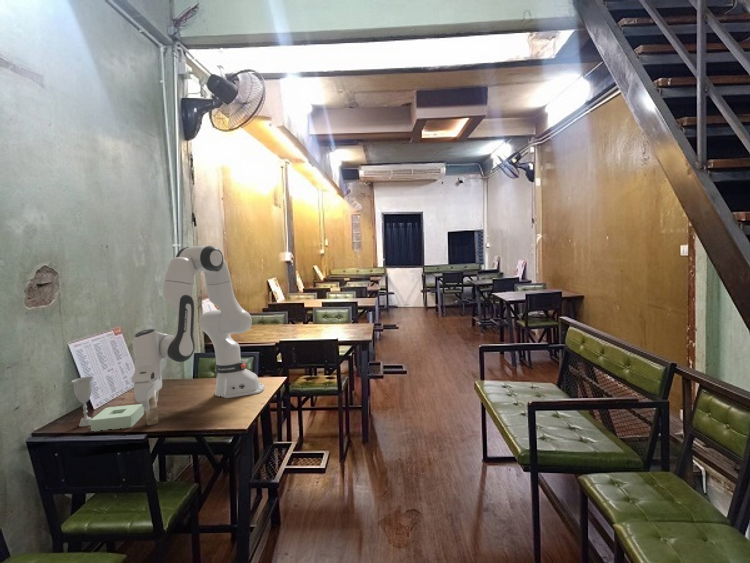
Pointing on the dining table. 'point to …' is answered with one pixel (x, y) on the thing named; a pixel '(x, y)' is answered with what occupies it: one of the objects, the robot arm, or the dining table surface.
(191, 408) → the dining table surface
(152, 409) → the peg
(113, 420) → the socket block
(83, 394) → the chalice
